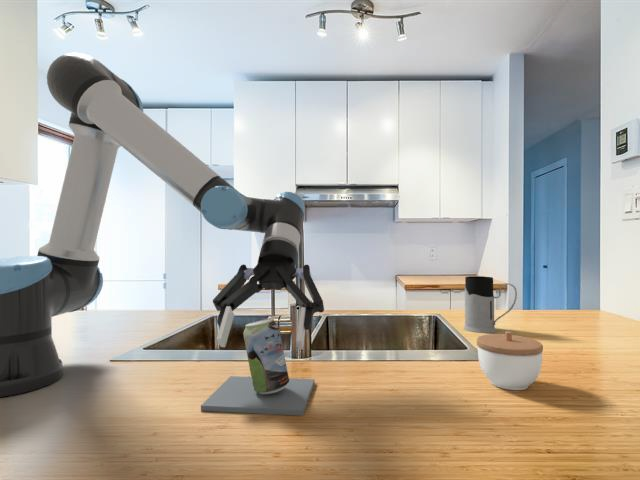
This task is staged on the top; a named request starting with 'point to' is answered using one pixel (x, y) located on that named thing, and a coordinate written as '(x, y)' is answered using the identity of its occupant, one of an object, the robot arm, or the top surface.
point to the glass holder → (481, 304)
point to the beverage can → (266, 356)
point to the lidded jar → (510, 360)
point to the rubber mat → (260, 397)
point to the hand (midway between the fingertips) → (259, 344)
